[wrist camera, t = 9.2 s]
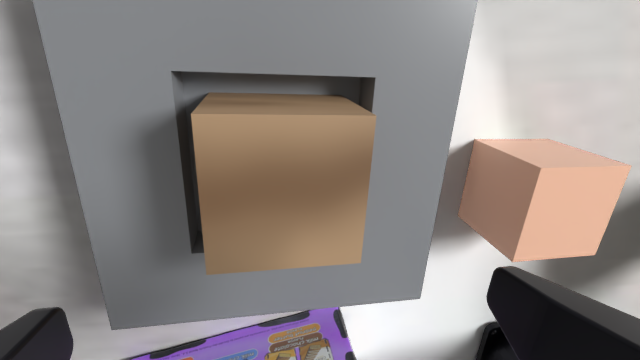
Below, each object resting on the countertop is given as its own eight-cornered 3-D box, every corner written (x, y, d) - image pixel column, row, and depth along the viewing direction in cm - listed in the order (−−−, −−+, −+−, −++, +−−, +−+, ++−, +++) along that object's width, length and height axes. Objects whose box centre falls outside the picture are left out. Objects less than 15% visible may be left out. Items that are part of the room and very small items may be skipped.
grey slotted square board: (399, 266, 22) (419, 298, 19) (131, 288, 19) (111, 330, 16) (443, -14, 16) (482, -26, 13) (64, -47, 13) (15, -71, 10)
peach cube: (524, 211, 22) (595, 255, 18) (456, 215, 21) (512, 261, 17) (547, 138, 20) (631, 165, 16) (473, 139, 20) (541, 167, 15)
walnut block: (333, 208, 18) (360, 263, 14) (218, 213, 17) (206, 274, 13) (341, 95, 16) (376, 115, 11) (209, 92, 15) (190, 113, 10)
